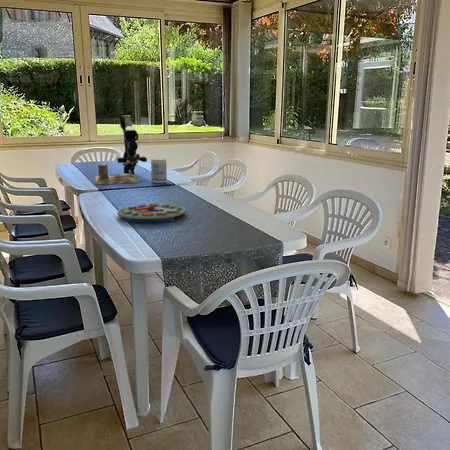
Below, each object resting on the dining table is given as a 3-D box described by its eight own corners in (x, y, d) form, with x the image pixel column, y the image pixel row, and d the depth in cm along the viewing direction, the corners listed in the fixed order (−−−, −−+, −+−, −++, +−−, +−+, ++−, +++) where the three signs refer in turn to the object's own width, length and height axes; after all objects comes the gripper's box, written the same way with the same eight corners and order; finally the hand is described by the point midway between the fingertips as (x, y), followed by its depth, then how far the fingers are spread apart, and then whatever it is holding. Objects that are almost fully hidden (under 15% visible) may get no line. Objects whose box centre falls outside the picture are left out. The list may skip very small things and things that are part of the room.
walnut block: (108, 179, 280) (107, 164, 278) (106, 180, 276) (105, 165, 273) (101, 179, 280) (100, 164, 277) (99, 180, 276) (98, 165, 273)
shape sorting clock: (187, 208, 217) (186, 196, 215) (183, 225, 188) (183, 212, 186) (124, 208, 216) (123, 196, 214) (111, 226, 187) (110, 212, 185)
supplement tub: (152, 183, 276) (151, 160, 272) (150, 181, 284) (149, 158, 280) (168, 182, 279) (167, 159, 274) (165, 180, 287) (164, 157, 283)
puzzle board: (135, 176, 299) (135, 172, 298) (138, 182, 279) (138, 177, 278) (95, 178, 292) (95, 173, 291) (95, 184, 272) (95, 179, 271)
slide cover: (131, 174, 297) (131, 169, 296) (132, 176, 290) (131, 171, 289) (120, 175, 295) (120, 170, 294) (121, 176, 288) (121, 171, 287)
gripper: (117, 150, 279) (119, 175, 283) (147, 150, 284) (148, 174, 288) (116, 148, 289) (118, 172, 293) (145, 148, 294) (146, 171, 298)
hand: (132, 172), depth 293 cm, fingers closed
